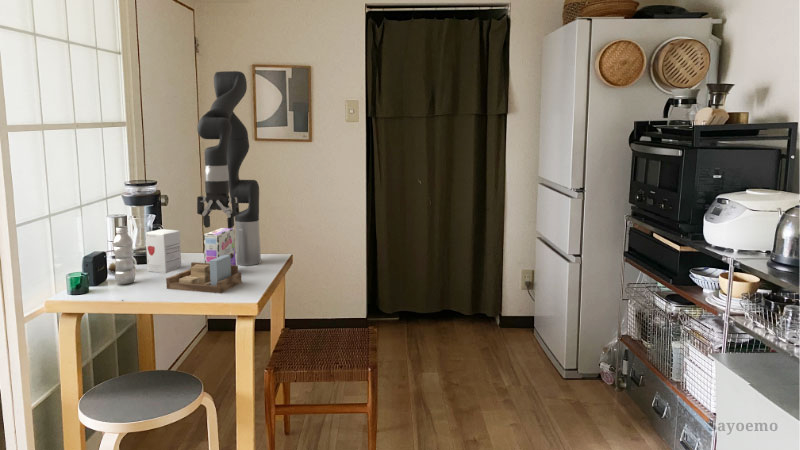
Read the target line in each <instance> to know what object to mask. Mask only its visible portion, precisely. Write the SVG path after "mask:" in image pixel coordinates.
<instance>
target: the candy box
mask: <svg viewBox="0 0 800 450" xmlns="http://www.w3.org/2000/svg"><path fill="white" fill-rule="evenodd" d="M203 250H204V251H203V253H204V256H203V257H204V263H210V260H212V259H215V258H217V257H220V256H223V255H230V258H231V265H237V261H236V234H235V228H234V227H233V228H231V229H228V227H220V228H217V229H216V230H215V229H214V230H212V231H210V232H207V233H203Z"/></svg>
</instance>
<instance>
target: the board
mask: <svg viewBox="0 0 800 450" xmlns="http://www.w3.org/2000/svg"><path fill="white" fill-rule="evenodd" d="M229 276H231V258H230V255H223V256H220V257H217V258H215V259H212V260H210V280H211V285H212V286H217V282H219V281H221V280H223V279H225V278H227V277H229Z"/></svg>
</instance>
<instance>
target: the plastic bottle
mask: <svg viewBox="0 0 800 450" xmlns="http://www.w3.org/2000/svg"><path fill="white" fill-rule="evenodd" d="M128 232H129V231H128V226H126V225H125V226H124V225H123V226H121V225H120V226H116V227H115V236H114V238H113V239H112V248H113V251H114V258H115V259H114V260H115V271H114V279H115V282H116V283H117V284H118V285H127V284H128V285H129V284H131V283H133V282H135V279H136V272H135V268H134V263H133V262H134V261H133V242H134V241H133V239H132V237H131V236H130V235H129V233H128Z"/></svg>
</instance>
